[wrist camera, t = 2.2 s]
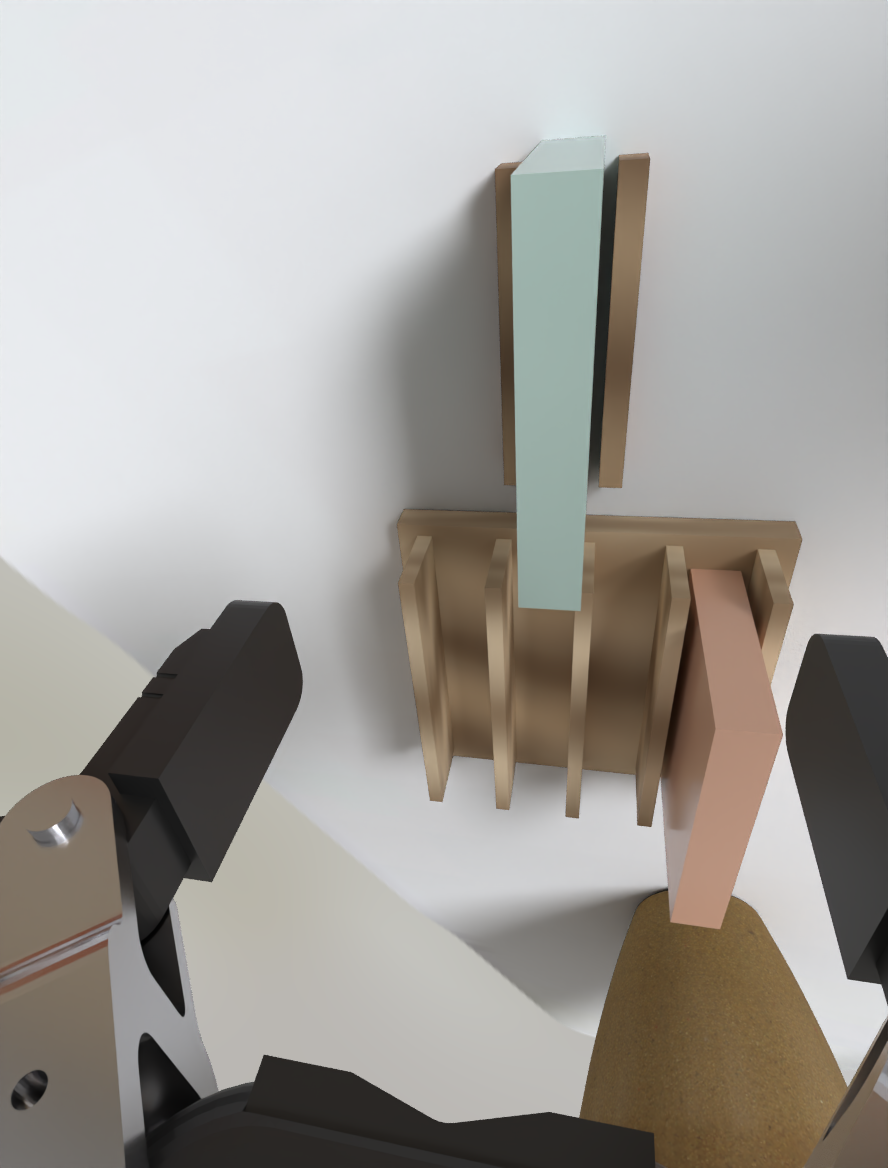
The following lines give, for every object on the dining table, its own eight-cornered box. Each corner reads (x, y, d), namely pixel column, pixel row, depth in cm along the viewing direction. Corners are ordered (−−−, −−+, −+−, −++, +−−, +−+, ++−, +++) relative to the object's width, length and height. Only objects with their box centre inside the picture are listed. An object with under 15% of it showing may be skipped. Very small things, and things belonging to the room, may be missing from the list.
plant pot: (530, 910, 45) (499, 1231, 33) (690, 817, 37) (732, 1208, 24) (703, 999, 48) (735, 1326, 36) (891, 932, 39) (1023, 1338, 27)
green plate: (542, 140, 20) (510, 174, 14) (605, 135, 19) (603, 168, 13) (540, 478, 26) (518, 607, 20) (588, 479, 26) (580, 610, 20)
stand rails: (501, 163, 20) (494, 169, 19) (647, 153, 19) (650, 158, 18) (508, 467, 26) (504, 484, 25) (621, 469, 25) (621, 487, 24)
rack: (403, 509, 28) (375, 570, 25) (795, 521, 25) (824, 593, 22) (433, 735, 37) (414, 805, 33) (730, 764, 34) (744, 844, 30)
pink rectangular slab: (690, 568, 26) (715, 728, 20) (741, 570, 26) (782, 734, 19) (659, 756, 32) (670, 922, 26) (698, 760, 32) (720, 929, 26)
